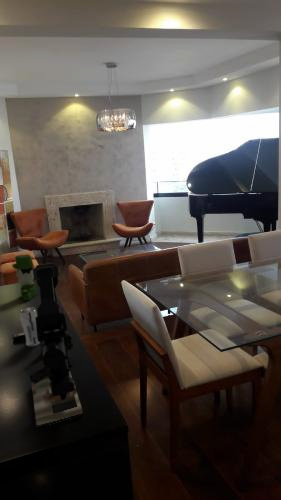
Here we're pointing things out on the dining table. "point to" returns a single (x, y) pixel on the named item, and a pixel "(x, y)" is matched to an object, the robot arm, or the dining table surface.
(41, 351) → the vaping device
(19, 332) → the dining table surface
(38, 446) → the dining table surface
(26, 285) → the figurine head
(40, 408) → the deck
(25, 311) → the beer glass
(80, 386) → the dining table surface
